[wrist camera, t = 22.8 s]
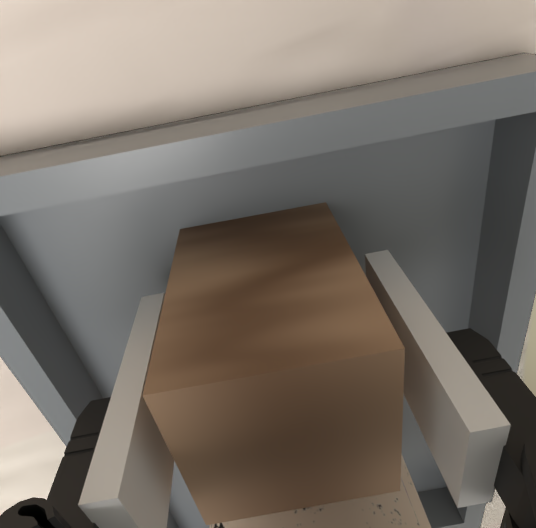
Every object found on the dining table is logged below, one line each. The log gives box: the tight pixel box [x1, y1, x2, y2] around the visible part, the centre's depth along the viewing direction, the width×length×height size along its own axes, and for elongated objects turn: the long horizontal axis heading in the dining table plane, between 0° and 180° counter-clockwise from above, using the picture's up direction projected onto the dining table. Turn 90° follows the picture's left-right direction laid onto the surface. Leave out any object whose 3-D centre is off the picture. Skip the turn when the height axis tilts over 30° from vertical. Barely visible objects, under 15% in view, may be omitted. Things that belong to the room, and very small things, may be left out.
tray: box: [0, 53, 536, 528], centre depth 17 cm, size 24×18×3 cm
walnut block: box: [142, 202, 405, 525], centre depth 12 cm, size 5×5×7 cm
